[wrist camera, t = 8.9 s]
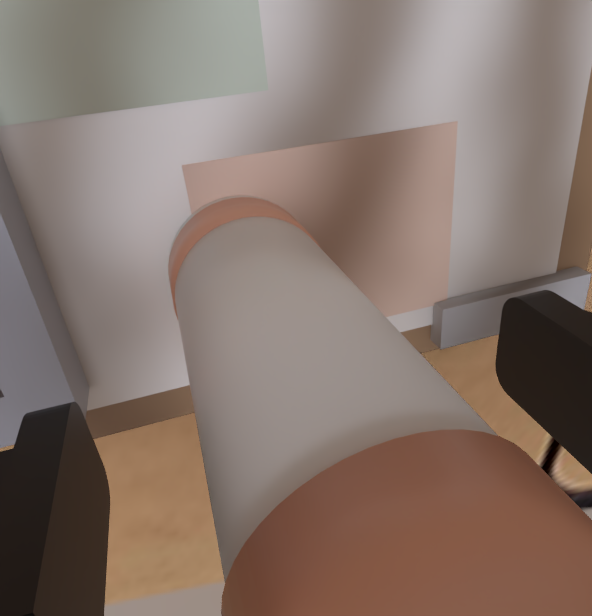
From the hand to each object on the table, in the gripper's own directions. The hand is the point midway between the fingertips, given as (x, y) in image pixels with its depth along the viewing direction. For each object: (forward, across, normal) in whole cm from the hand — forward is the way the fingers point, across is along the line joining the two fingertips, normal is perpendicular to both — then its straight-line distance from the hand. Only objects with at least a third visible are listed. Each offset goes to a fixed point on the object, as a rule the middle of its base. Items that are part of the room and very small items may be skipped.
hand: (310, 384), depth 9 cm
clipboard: (+7, -3, -3) cm, 8 cm away
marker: (+6, 0, 0) cm, 6 cm away
